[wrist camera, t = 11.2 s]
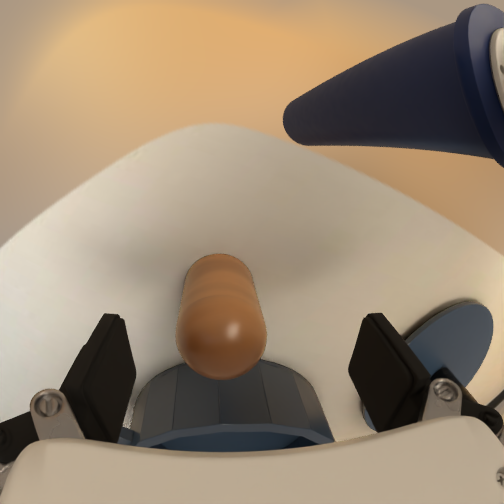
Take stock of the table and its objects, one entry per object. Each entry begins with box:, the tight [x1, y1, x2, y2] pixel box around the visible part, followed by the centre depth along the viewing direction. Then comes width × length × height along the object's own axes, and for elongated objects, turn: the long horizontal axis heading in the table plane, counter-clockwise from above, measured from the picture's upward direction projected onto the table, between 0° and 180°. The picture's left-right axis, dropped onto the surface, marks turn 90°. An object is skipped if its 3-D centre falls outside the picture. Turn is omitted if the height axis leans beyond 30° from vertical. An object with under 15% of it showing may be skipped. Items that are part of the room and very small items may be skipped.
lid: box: [363, 301, 493, 431], centre depth 20 cm, size 17×17×7 cm
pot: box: [116, 360, 335, 452], centre depth 19 cm, size 16×21×6 cm
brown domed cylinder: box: [175, 254, 267, 380], centre depth 14 cm, size 4×4×7 cm
